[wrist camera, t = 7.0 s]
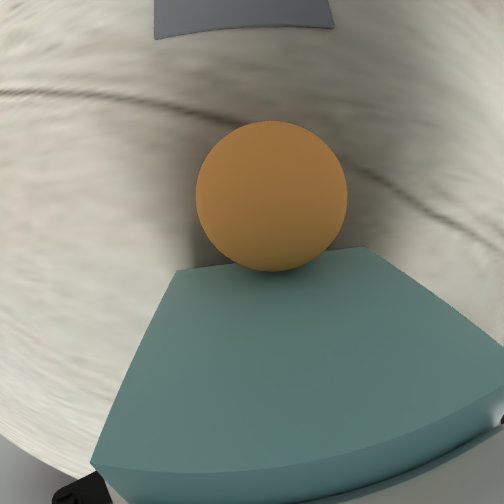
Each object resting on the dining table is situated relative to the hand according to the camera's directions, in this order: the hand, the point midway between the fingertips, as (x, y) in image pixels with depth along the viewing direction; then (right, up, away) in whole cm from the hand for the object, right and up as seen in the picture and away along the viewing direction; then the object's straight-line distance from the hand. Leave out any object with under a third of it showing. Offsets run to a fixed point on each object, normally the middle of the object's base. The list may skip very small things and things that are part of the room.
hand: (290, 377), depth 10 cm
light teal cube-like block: (0, +1, +3) cm, 3 cm away
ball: (-1, +7, 0) cm, 7 cm away
